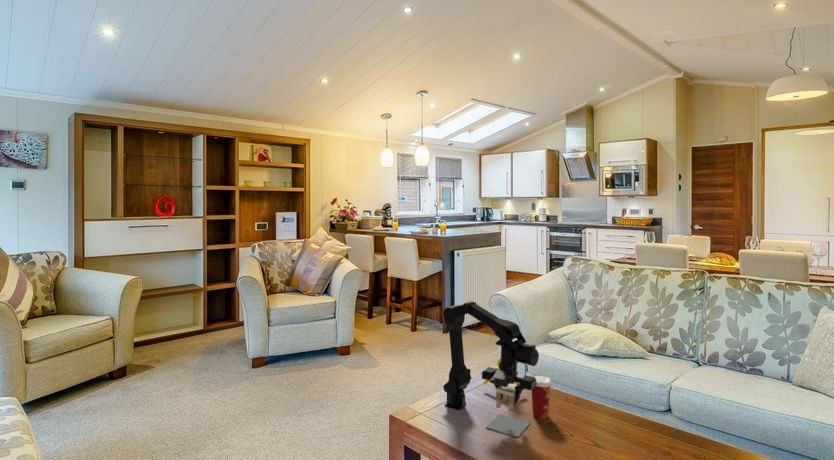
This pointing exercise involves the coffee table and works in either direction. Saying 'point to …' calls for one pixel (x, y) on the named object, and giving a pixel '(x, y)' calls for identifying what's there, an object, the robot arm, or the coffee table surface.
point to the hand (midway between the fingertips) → (508, 401)
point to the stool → (506, 395)
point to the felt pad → (508, 425)
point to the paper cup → (541, 397)
